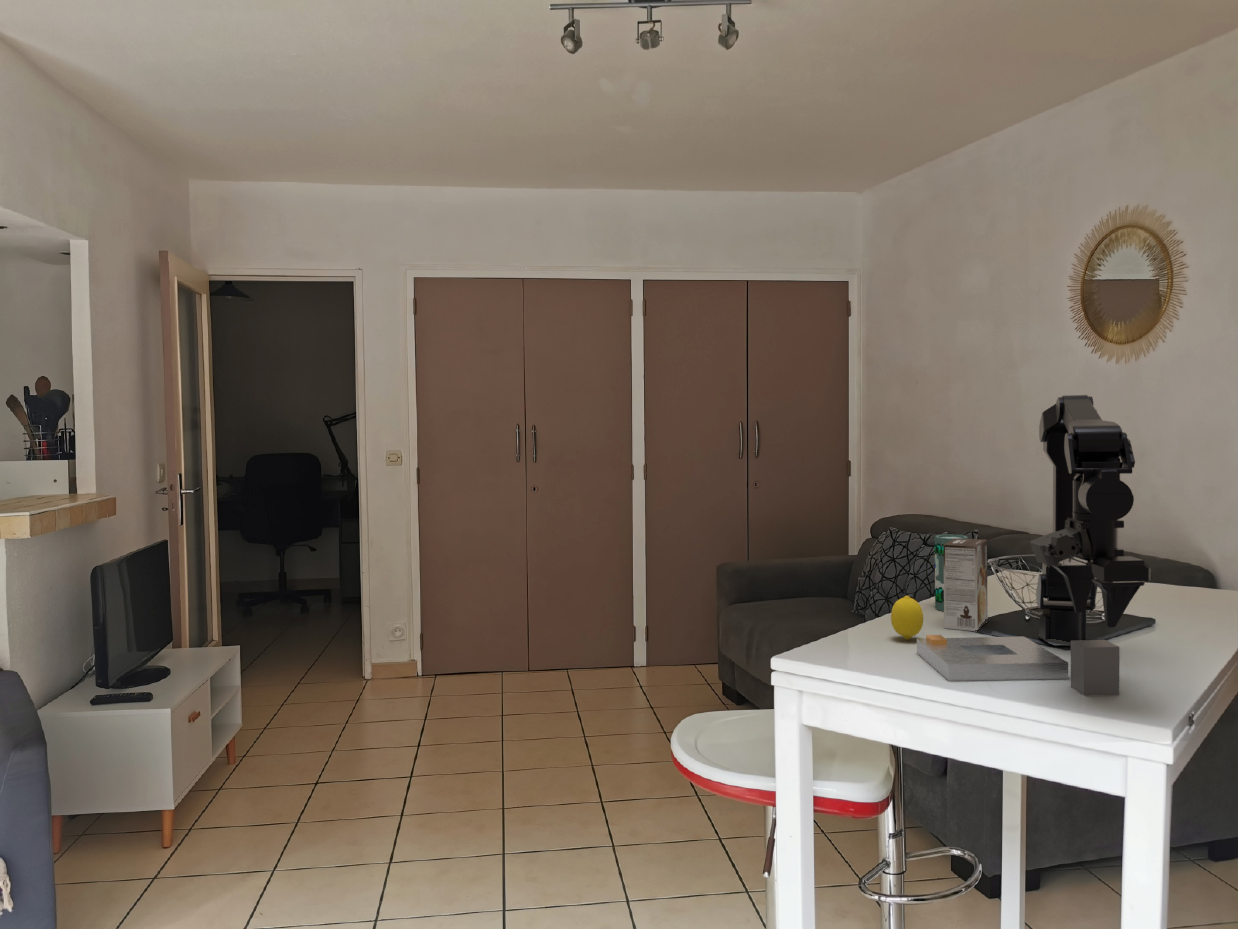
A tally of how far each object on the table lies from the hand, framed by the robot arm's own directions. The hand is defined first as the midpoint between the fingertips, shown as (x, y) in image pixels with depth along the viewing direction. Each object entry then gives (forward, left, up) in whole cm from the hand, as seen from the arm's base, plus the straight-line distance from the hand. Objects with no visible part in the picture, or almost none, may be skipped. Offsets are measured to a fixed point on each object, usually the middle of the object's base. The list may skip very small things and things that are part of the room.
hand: (1094, 619), depth 131 cm
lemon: (+18, -31, -11) cm, 37 cm away
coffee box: (+4, -41, -11) cm, 42 cm away
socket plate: (+10, -14, -10) cm, 20 cm away
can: (+2, -55, -11) cm, 56 cm away
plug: (0, 0, -11) cm, 11 cm away
